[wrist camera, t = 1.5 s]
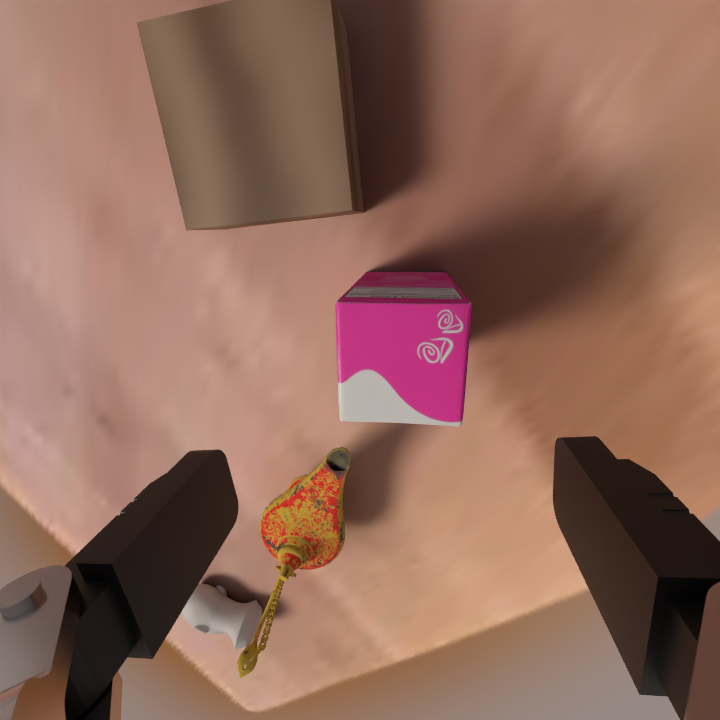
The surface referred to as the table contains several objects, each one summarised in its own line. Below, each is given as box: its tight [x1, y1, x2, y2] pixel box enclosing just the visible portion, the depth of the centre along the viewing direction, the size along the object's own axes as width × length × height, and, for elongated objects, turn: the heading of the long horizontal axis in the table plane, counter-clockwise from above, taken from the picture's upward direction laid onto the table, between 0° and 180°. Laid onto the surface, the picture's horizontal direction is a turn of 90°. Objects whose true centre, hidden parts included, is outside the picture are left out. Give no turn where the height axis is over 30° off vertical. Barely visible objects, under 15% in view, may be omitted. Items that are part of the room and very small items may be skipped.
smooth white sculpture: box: [181, 584, 262, 649], centre depth 38 cm, size 4×8×5 cm
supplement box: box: [336, 272, 472, 426], centre depth 21 cm, size 6×6×12 cm
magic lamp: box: [237, 447, 351, 678], centre depth 28 cm, size 7×18×11 cm, turn 157°
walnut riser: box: [137, 0, 364, 230], centre depth 22 cm, size 10×10×5 cm
